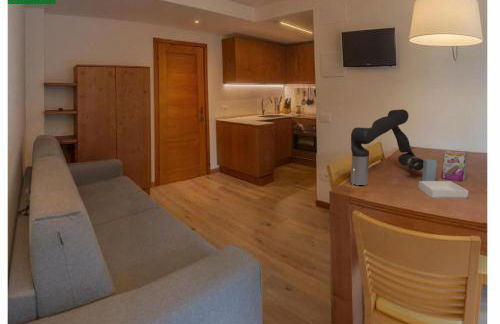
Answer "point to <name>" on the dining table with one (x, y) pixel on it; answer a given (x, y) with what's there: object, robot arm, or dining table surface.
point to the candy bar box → (454, 165)
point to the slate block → (429, 170)
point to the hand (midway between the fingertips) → (426, 168)
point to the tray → (443, 189)
